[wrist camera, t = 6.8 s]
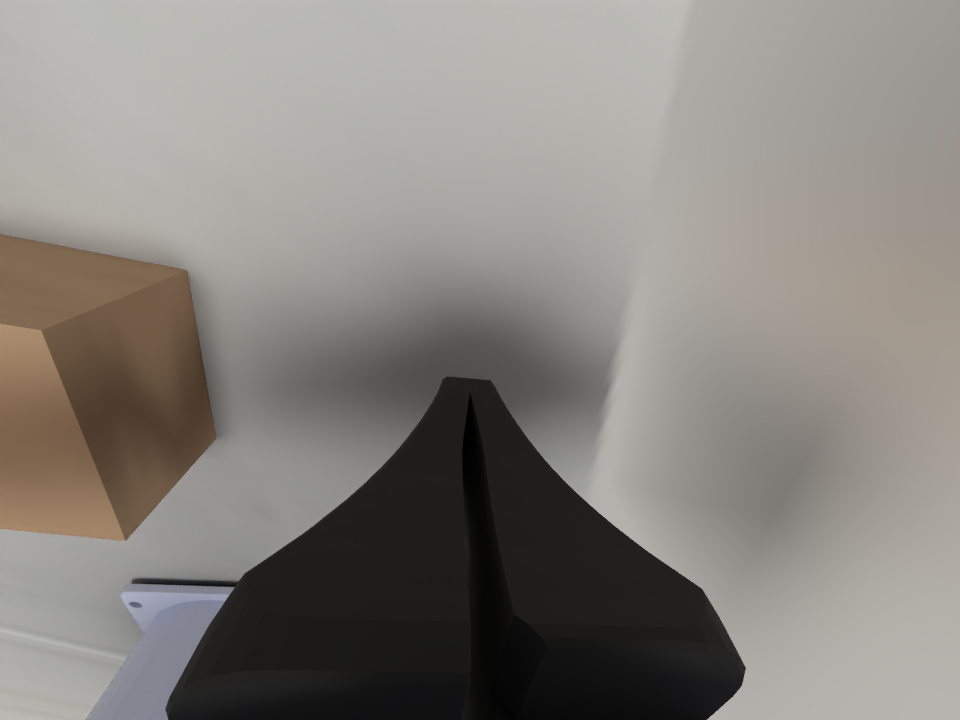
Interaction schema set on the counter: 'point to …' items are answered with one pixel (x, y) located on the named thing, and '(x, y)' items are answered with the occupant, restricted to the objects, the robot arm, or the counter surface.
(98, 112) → the counter surface
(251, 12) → the counter surface
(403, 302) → the counter surface
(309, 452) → the counter surface
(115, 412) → the walnut block
